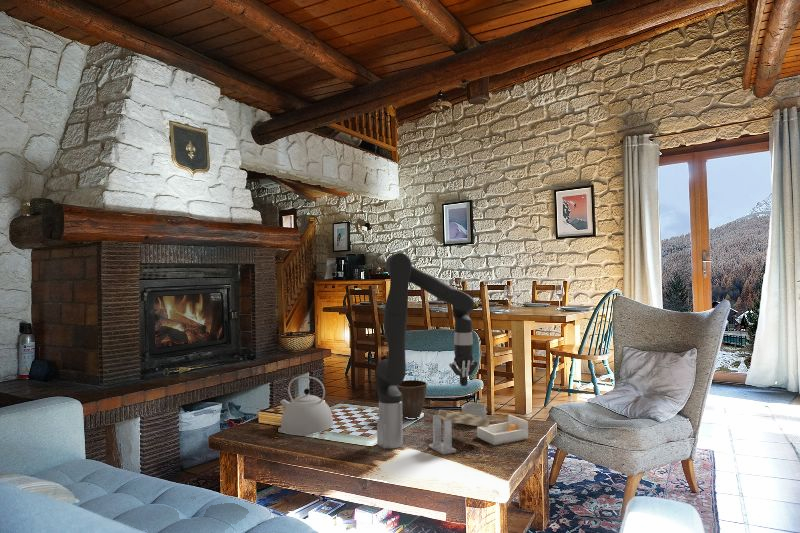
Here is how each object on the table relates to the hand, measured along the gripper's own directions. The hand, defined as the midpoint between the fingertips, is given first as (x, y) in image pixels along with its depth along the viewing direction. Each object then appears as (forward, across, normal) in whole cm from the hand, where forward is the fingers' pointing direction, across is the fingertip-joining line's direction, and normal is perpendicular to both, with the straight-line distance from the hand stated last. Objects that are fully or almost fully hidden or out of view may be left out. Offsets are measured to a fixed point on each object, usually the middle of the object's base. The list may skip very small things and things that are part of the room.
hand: (463, 385), depth 212 cm
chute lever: (+12, -6, -4) cm, 14 cm away
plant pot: (+21, -5, +36) cm, 42 cm away
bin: (+21, +13, -8) cm, 26 cm away
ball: (+18, +18, -8) cm, 27 cm away
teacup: (+21, +16, +16) cm, 31 cm away
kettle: (+22, -53, +46) cm, 74 cm away
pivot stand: (+21, -15, -8) cm, 27 cm away
